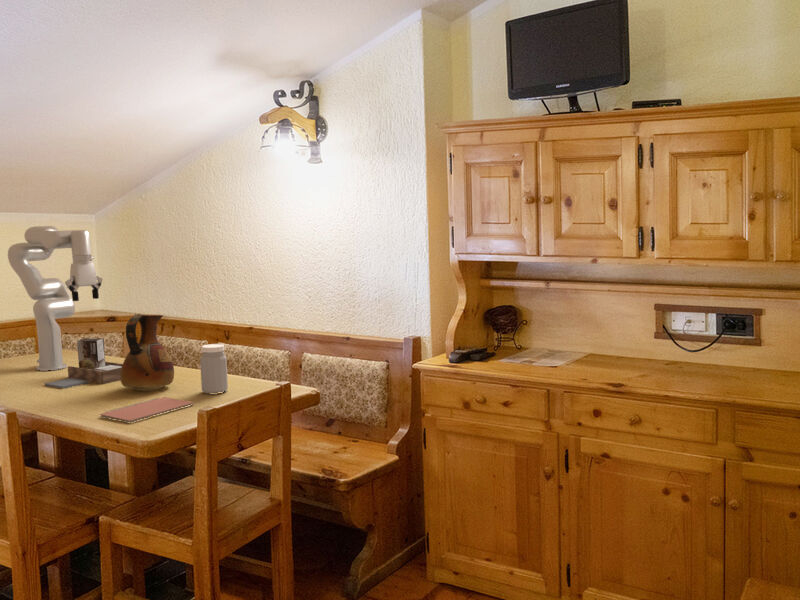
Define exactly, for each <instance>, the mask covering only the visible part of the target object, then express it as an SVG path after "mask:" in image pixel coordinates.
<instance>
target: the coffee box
mask: <svg viewBox="0 0 800 600" xmlns="http://www.w3.org/2000/svg"><path fill="white" fill-rule="evenodd" d="M76 346H77V357H78V368H85V369H92V370H95V368H99V367H104V366H106V365H105V361H106V353H105V339H104V337H93V338H92V337H91V338H90V337H88V338H87V337H84V338H81V339H79V340H76Z"/></svg>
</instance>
